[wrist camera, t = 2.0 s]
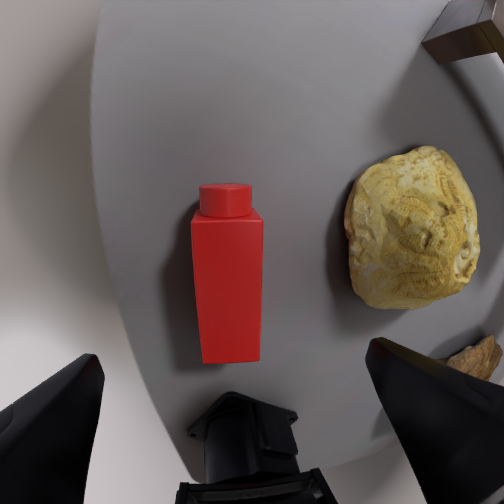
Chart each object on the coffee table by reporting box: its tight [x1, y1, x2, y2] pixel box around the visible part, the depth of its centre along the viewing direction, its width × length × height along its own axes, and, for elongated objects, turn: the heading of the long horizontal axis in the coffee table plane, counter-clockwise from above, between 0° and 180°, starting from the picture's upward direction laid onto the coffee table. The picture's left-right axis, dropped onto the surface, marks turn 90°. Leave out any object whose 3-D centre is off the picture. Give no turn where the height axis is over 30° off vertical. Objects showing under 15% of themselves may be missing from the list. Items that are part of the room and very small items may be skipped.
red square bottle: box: [191, 184, 263, 364], centre depth 13 cm, size 8×3×3 cm, turn 0°
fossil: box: [344, 146, 480, 310], centre depth 13 cm, size 11×6×10 cm
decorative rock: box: [436, 334, 503, 381], centre depth 19 cm, size 11×4×15 cm
